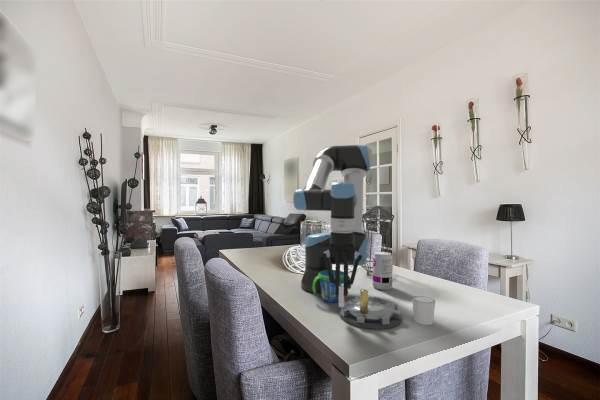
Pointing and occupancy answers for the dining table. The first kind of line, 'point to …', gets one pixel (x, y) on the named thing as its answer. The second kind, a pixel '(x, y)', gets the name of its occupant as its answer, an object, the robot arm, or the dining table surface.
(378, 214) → the geometric lantern
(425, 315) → the shot glass
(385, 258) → the supplement can
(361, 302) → the sprocket
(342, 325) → the dining table surface
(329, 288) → the snack cup
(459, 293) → the dining table surface
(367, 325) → the sprocket base
